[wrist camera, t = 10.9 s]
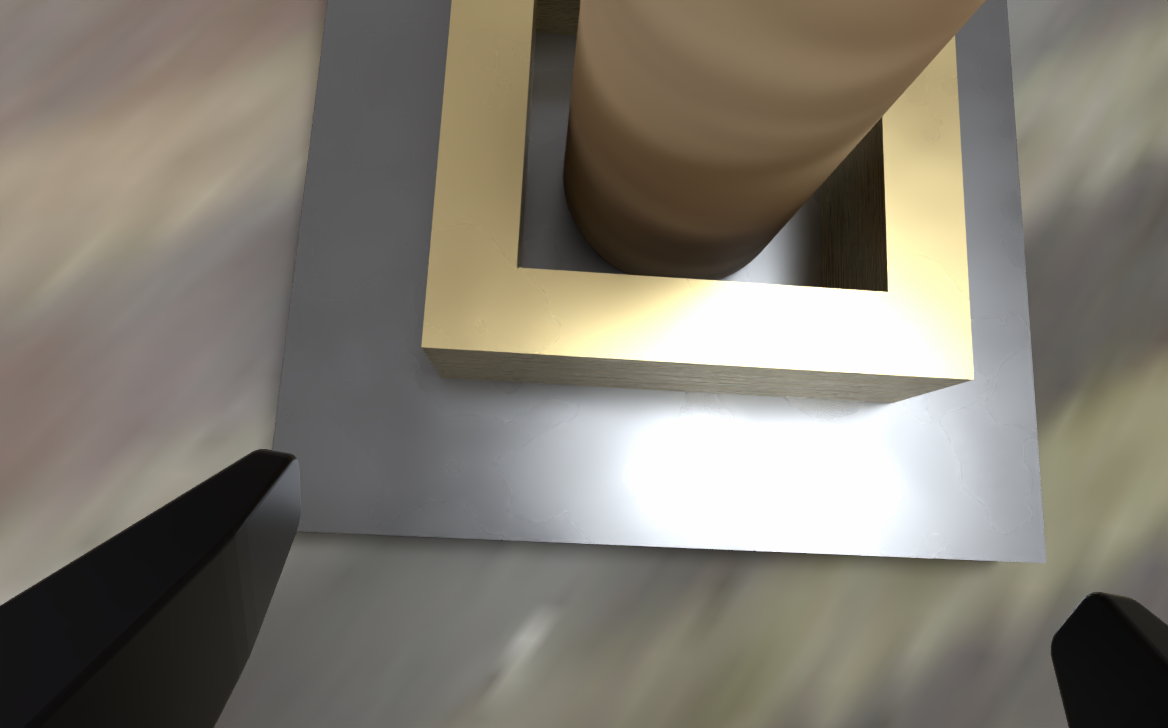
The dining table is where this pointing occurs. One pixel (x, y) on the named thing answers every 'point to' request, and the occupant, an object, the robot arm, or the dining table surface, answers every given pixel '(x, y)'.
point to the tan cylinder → (727, 117)
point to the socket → (651, 318)
